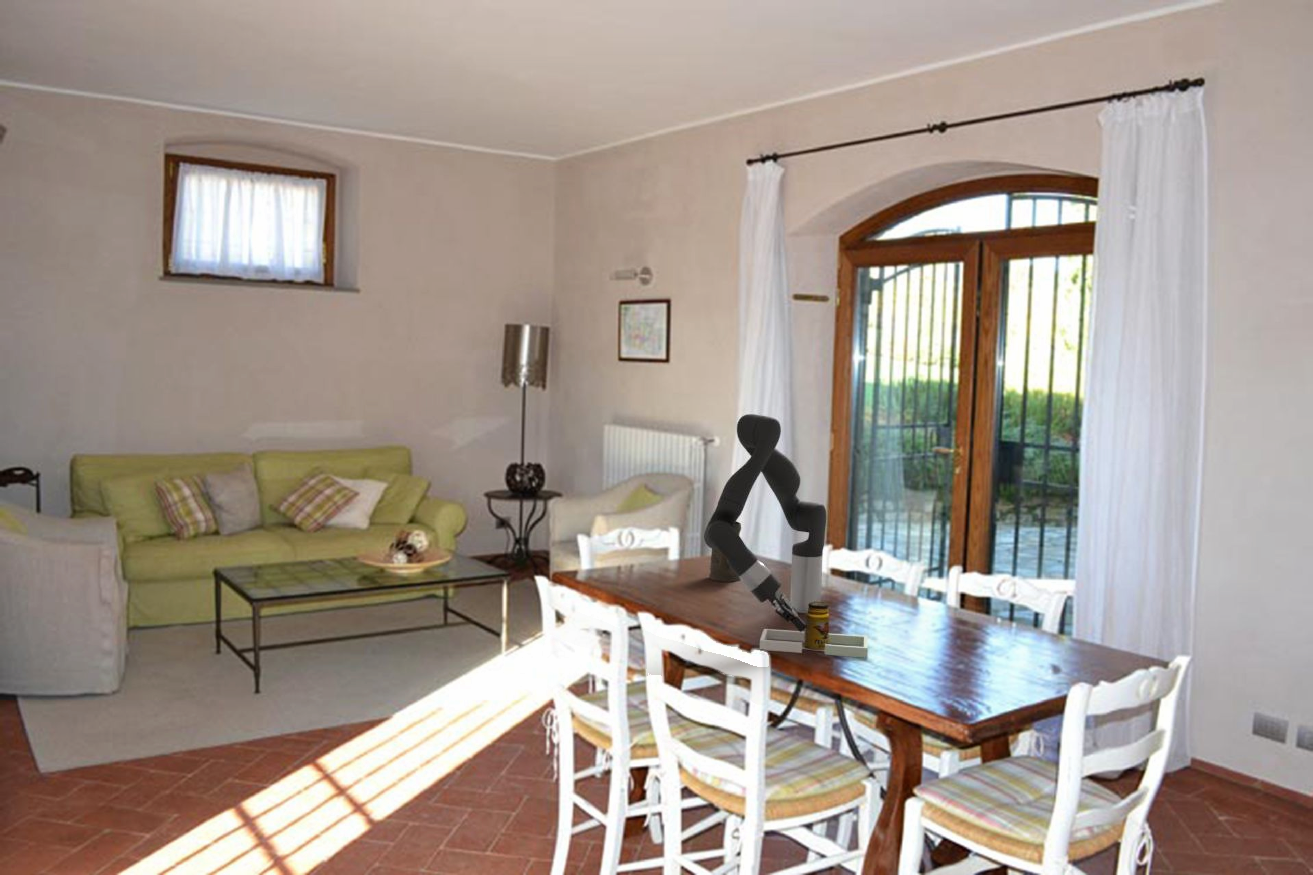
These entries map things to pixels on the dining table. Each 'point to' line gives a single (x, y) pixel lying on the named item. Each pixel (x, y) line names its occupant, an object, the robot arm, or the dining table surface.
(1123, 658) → the dining table surface
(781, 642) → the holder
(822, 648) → the condiment
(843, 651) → the white shallow tray
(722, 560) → the beer stein
